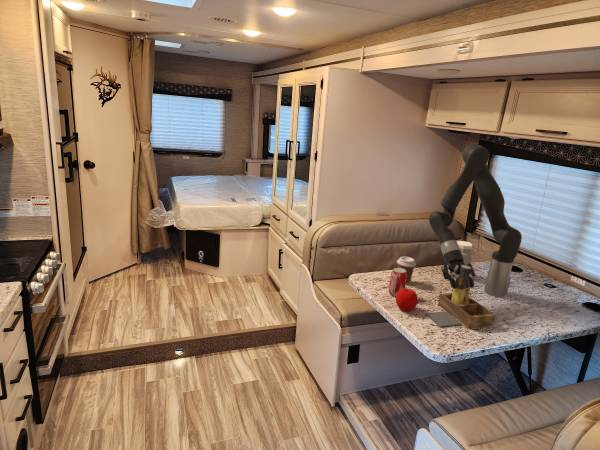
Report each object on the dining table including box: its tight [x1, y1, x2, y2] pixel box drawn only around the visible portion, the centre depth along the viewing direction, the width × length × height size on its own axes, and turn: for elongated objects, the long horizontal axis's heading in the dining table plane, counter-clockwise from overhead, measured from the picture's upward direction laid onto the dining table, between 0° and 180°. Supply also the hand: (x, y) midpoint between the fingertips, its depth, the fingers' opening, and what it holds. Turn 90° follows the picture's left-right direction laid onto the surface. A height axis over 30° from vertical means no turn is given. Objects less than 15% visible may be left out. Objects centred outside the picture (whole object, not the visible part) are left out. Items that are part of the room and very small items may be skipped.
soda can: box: [388, 267, 407, 297], centre depth 178 cm, size 7×7×12 cm
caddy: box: [437, 292, 497, 329], centre depth 165 cm, size 12×20×5 cm, turn 16°
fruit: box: [395, 286, 419, 312], centre depth 166 cm, size 9×9×10 cm
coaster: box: [424, 310, 462, 328], centre depth 160 cm, size 10×10×1 cm
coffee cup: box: [396, 256, 417, 285], centre depth 192 cm, size 9×9×12 cm
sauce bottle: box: [451, 265, 471, 305], centre depth 167 cm, size 7×6×20 cm
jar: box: [448, 240, 473, 279], centre depth 204 cm, size 10×10×18 cm
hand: (463, 287), depth 166 cm, fingers open, 8 cm apart
